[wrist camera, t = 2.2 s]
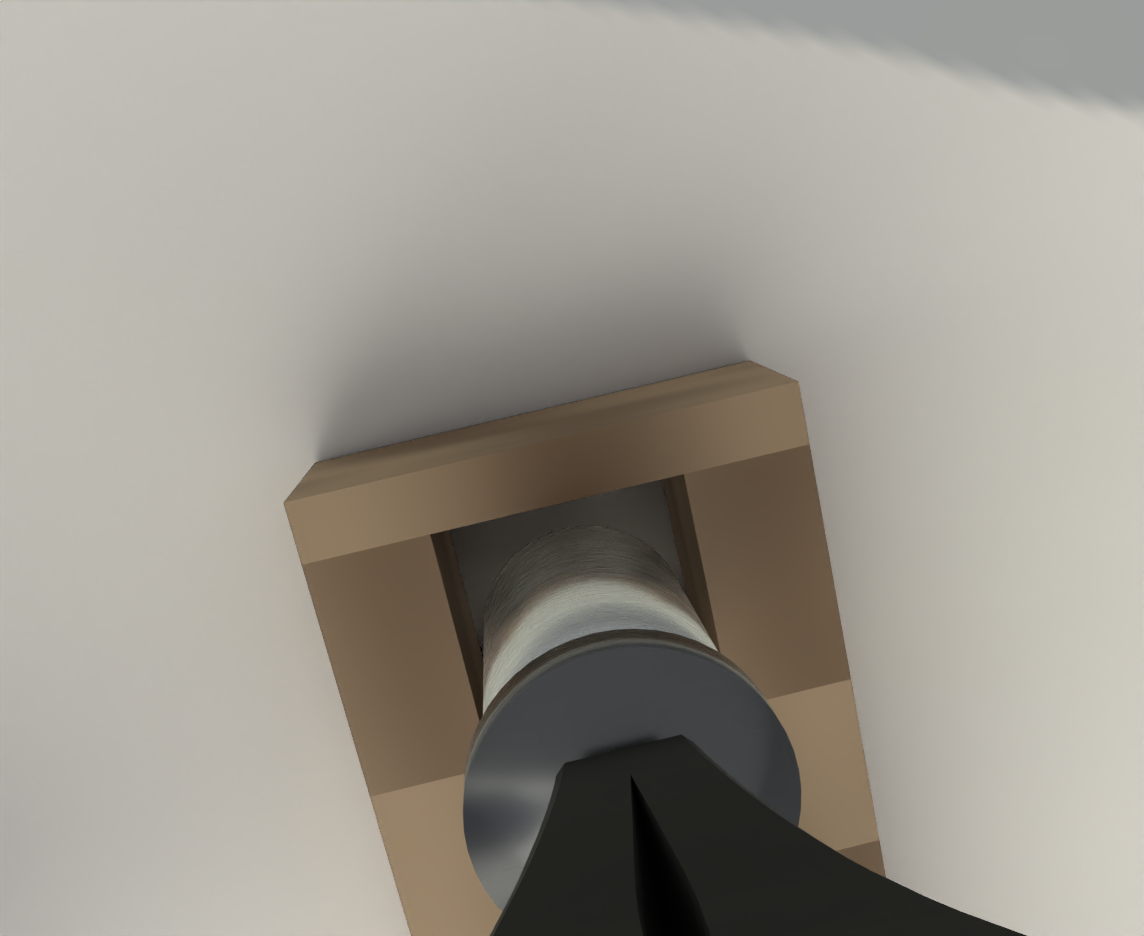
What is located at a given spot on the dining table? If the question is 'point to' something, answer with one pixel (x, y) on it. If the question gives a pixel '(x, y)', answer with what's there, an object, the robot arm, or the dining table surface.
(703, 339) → the dining table surface
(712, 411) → the jig
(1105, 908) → the dining table surface
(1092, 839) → the dining table surface
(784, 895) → the robot arm
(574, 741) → the plunger
